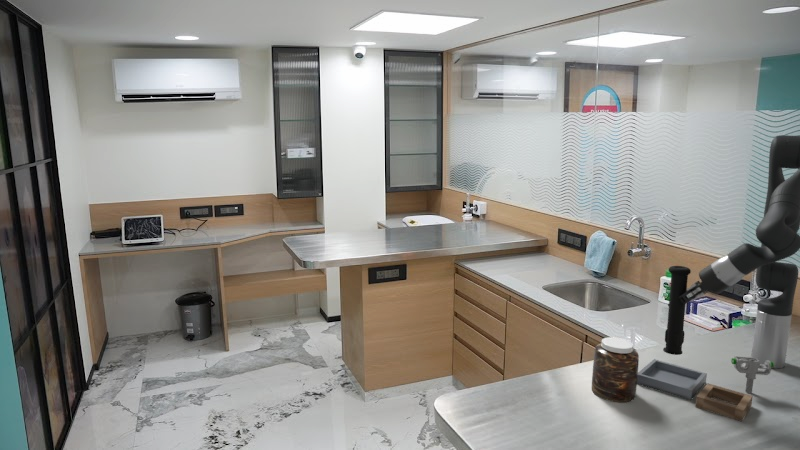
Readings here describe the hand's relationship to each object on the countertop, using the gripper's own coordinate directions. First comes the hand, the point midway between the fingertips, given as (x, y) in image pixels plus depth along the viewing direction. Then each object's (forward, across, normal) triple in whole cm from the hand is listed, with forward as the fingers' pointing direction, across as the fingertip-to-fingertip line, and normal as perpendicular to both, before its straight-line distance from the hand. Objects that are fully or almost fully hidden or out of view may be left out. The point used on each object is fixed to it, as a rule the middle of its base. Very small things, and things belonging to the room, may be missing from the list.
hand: (671, 307), depth 163 cm
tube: (+7, +2, +10) cm, 13 cm away
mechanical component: (+2, -10, +31) cm, 32 cm away
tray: (+15, 0, +18) cm, 23 cm away
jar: (+22, +18, +11) cm, 30 cm away
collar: (+4, +5, +28) cm, 29 cm away
